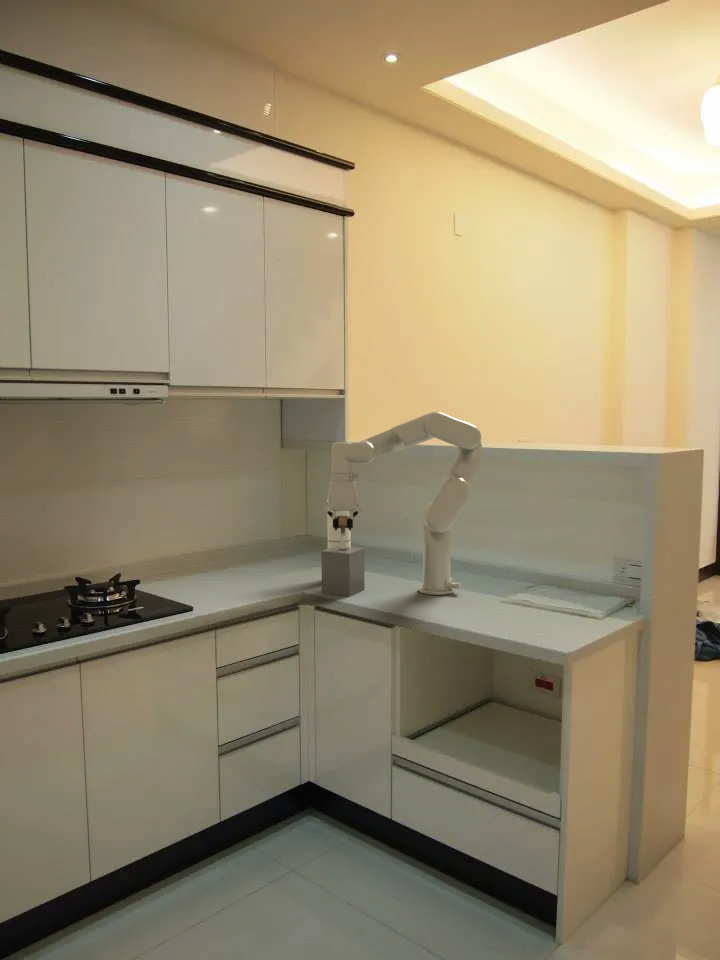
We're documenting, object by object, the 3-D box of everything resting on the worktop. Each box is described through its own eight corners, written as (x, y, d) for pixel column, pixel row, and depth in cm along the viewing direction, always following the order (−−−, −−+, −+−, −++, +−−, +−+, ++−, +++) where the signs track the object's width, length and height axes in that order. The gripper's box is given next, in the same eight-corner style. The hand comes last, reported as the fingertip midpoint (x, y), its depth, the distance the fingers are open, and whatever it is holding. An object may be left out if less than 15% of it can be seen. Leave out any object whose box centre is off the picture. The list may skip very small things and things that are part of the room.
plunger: (358, 570, 268) (358, 515, 266) (347, 575, 261) (347, 518, 259) (338, 568, 272) (338, 513, 270) (327, 572, 265) (327, 516, 263)
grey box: (364, 589, 269) (364, 548, 268) (349, 596, 260) (349, 553, 258) (337, 586, 274) (337, 545, 273) (321, 593, 265) (321, 551, 263)
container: (339, 576, 291) (339, 498, 288) (355, 579, 285) (355, 500, 282) (323, 579, 285) (322, 500, 282) (338, 583, 279) (338, 502, 276)
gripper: (367, 476, 267) (367, 528, 269) (319, 476, 267) (319, 528, 269) (366, 478, 259) (367, 531, 261) (317, 478, 260) (318, 531, 261)
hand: (342, 529), depth 265 cm, fingers closed on plunger, 4 cm apart
